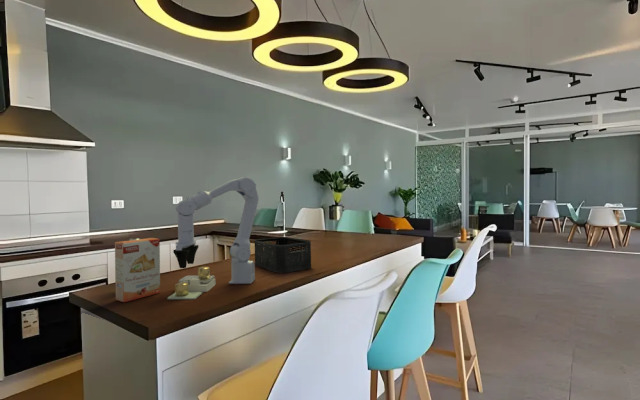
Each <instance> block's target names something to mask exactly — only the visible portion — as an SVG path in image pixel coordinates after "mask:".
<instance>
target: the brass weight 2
mask: <svg viewBox="0 0 640 400" xmlns="http://www.w3.org/2000/svg"><path fill="white" fill-rule="evenodd" d="M210 269H211V268H210V267H209V266H200V267H198V268H197V276H198V279H208V278H210V276H211V271H210Z"/></svg>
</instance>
